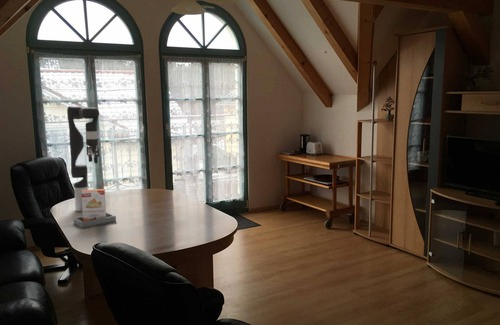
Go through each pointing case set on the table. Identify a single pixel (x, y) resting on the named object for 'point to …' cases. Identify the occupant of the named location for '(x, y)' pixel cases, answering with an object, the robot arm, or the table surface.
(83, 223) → the bin
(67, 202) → the table surface
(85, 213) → the cracker box
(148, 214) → the table surface
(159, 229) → the table surface
